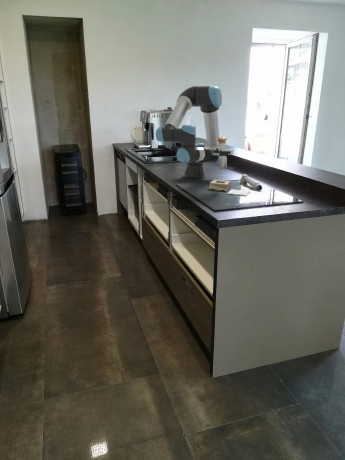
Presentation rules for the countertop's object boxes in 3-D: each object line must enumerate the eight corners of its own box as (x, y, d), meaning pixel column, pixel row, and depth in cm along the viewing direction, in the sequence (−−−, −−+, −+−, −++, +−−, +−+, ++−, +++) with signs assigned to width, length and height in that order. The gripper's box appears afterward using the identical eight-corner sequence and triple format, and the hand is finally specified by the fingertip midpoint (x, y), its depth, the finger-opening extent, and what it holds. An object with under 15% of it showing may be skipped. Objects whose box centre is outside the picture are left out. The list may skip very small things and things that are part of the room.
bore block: (213, 186, 220) (214, 179, 219) (230, 187, 217) (230, 181, 215) (209, 189, 211) (209, 182, 210) (226, 191, 207) (227, 184, 206)
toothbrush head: (255, 185, 208) (239, 172, 229) (254, 195, 211) (238, 181, 232) (263, 184, 209) (246, 171, 230) (262, 195, 212) (245, 181, 233)
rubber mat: (231, 190, 209) (231, 189, 209) (249, 192, 206) (249, 191, 206) (227, 194, 200) (227, 193, 200) (246, 196, 196) (246, 195, 196)
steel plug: (219, 167, 212) (218, 137, 205) (228, 167, 210) (227, 137, 203) (217, 169, 207) (216, 138, 200) (226, 169, 205) (225, 138, 199)
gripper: (190, 158, 202) (218, 156, 216) (211, 162, 189) (240, 159, 203) (191, 145, 200) (219, 143, 214) (212, 148, 187) (241, 146, 201)
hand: (229, 151), depth 208 cm, fingers closed on steel plug, 4 cm apart
